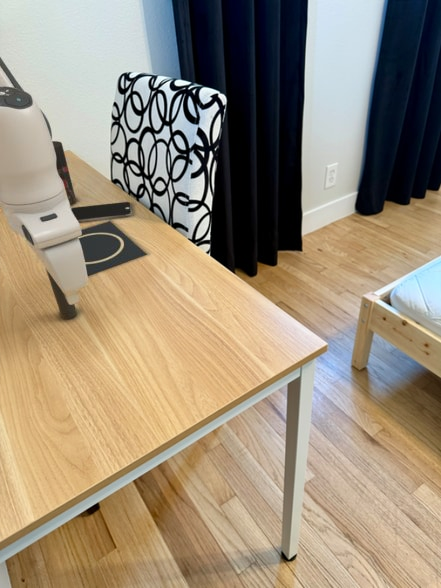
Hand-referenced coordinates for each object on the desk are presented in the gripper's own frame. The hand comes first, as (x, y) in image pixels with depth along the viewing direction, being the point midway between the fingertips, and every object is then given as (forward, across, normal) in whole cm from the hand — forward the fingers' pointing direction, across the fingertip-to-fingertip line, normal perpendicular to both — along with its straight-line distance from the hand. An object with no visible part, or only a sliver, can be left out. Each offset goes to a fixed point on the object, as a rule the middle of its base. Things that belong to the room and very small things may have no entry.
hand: (63, 287), depth 71 cm
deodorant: (+6, -46, +15) cm, 49 cm away
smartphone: (+6, -34, +20) cm, 40 cm away
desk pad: (+6, -19, +12) cm, 23 cm away
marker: (+6, 0, 0) cm, 6 cm away
